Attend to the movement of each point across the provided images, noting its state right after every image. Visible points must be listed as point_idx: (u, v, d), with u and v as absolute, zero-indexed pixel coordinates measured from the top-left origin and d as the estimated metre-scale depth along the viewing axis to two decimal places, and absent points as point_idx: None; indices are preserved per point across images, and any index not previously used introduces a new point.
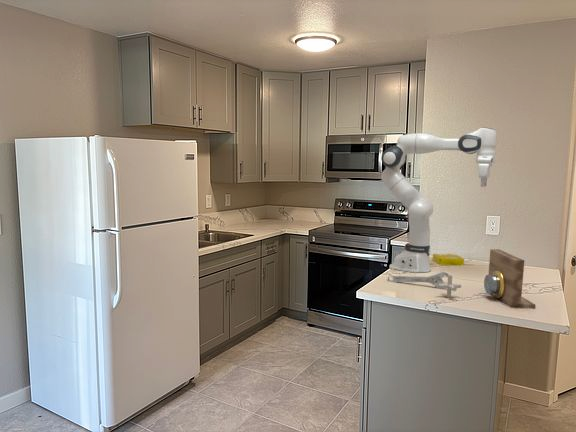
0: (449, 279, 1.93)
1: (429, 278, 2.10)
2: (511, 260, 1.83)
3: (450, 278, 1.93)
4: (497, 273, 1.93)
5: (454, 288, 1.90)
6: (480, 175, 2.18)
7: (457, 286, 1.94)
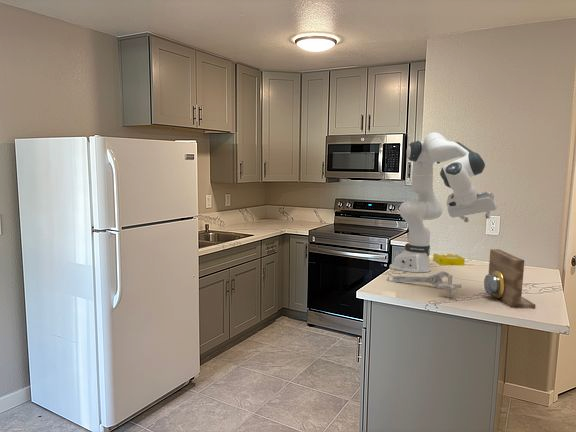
0: (449, 279, 1.93)
1: (429, 278, 2.10)
2: (511, 260, 1.83)
3: (450, 278, 1.93)
4: (497, 273, 1.93)
5: (454, 288, 1.90)
6: None
7: (457, 286, 1.94)
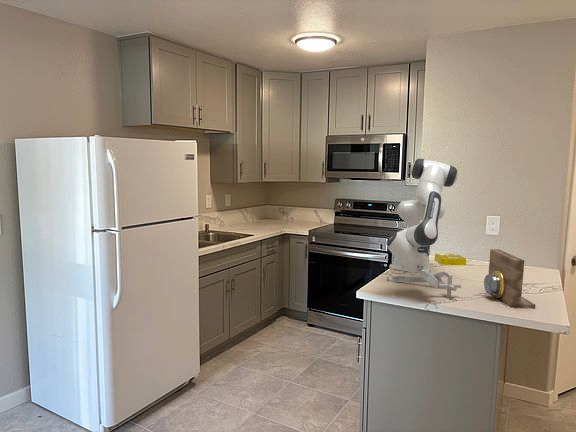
0: (449, 279, 1.93)
1: None
2: (511, 260, 1.83)
3: (450, 278, 1.93)
4: (497, 273, 1.93)
5: (454, 288, 1.90)
6: None
7: (457, 286, 1.94)
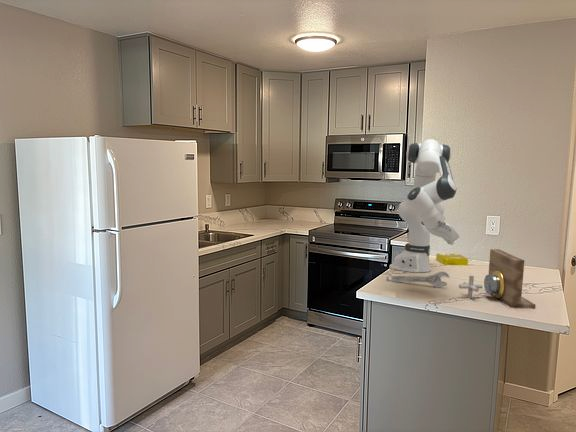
0: (470, 280, 1.93)
1: (428, 278, 2.11)
2: (511, 260, 1.83)
3: (472, 279, 1.93)
4: (497, 273, 1.93)
5: (476, 289, 1.89)
6: None
7: (478, 287, 1.94)
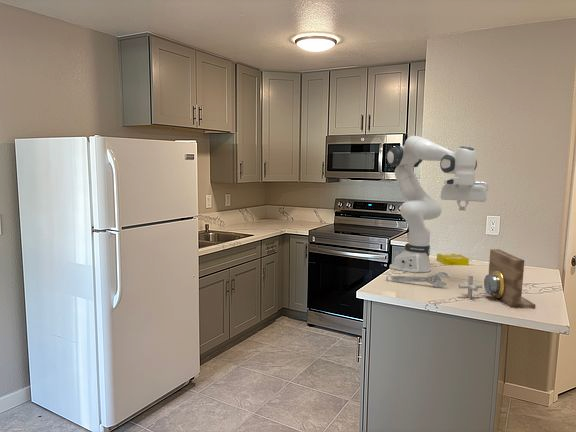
0: (470, 279, 1.93)
1: (428, 278, 2.11)
2: (511, 260, 1.83)
3: (471, 278, 1.93)
4: (497, 273, 1.93)
5: (475, 288, 1.89)
6: None
7: (478, 286, 1.94)
